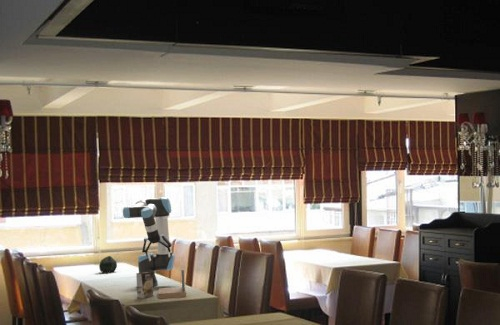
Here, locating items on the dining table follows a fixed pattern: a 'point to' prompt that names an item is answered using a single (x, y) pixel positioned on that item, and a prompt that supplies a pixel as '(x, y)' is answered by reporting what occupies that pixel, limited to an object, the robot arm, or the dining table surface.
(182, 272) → the bookend
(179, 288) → the shelf plank
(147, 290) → the coffee box
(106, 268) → the squash
